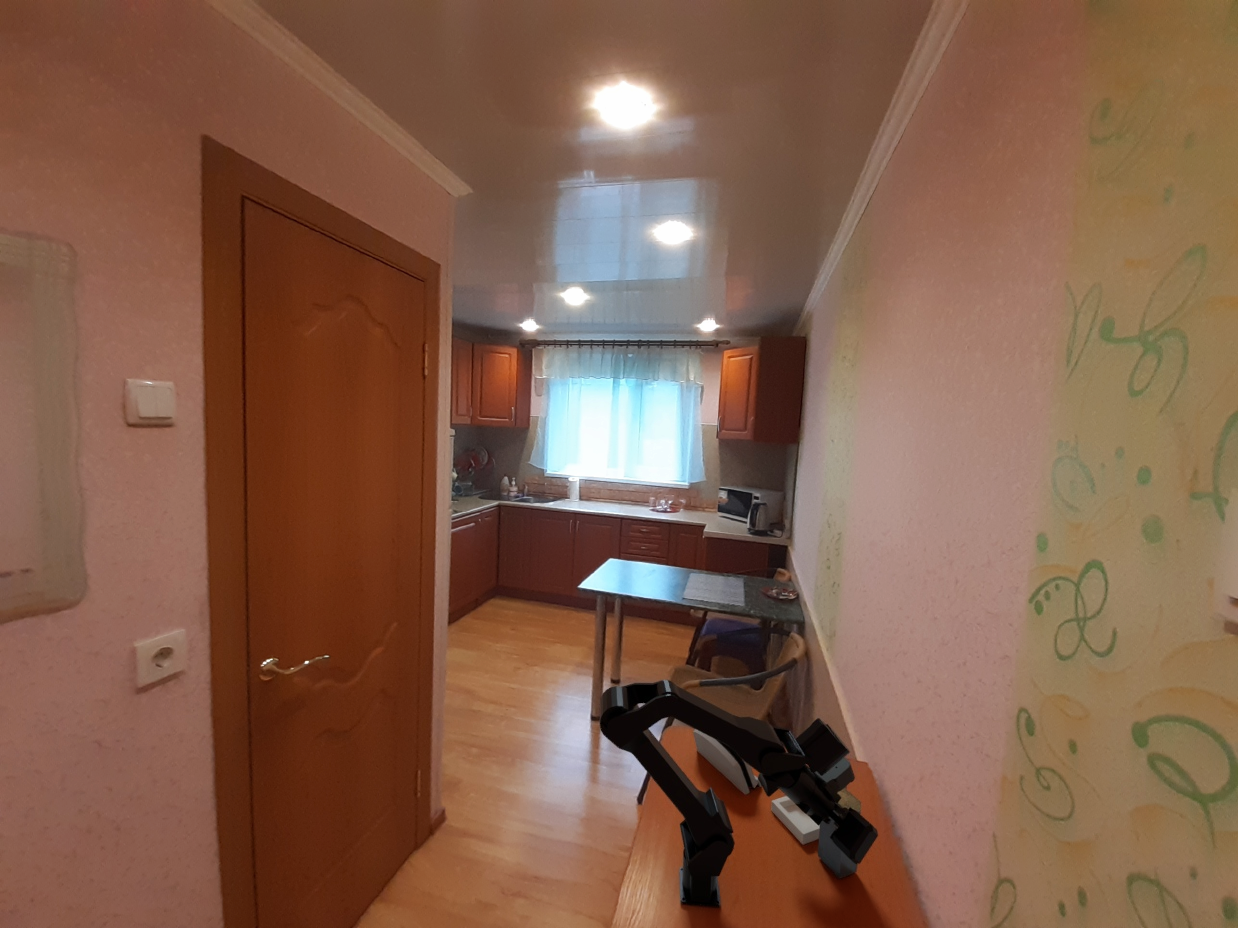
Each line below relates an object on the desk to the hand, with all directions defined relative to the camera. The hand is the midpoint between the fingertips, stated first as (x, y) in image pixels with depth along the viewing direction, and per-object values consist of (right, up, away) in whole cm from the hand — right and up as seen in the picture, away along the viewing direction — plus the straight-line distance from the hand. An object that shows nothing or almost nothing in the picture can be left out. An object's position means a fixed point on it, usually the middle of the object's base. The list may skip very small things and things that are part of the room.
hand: (845, 826), depth 91 cm
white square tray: (-4, -6, +10) cm, 12 cm away
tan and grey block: (-1, -7, 0) cm, 7 cm away
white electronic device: (-17, -5, +25) cm, 30 cm away
